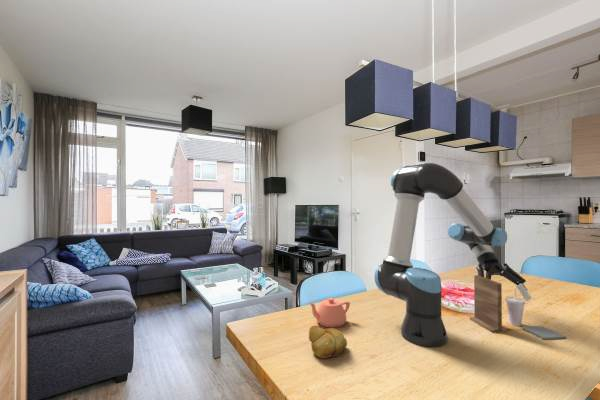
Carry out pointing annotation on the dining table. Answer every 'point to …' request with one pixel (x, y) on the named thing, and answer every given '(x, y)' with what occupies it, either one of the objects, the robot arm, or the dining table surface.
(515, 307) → the smoothie
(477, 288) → the screen
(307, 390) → the dining table surface
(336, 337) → the bread roll
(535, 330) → the coaster
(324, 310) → the teapot
